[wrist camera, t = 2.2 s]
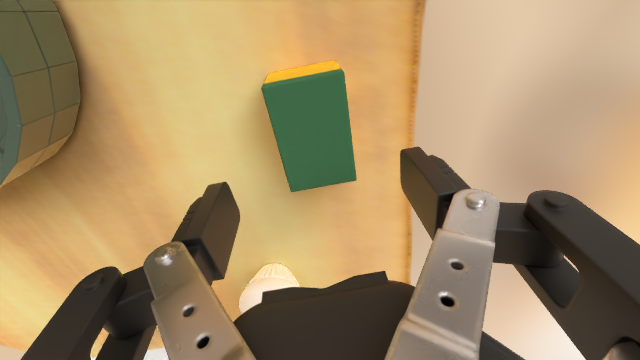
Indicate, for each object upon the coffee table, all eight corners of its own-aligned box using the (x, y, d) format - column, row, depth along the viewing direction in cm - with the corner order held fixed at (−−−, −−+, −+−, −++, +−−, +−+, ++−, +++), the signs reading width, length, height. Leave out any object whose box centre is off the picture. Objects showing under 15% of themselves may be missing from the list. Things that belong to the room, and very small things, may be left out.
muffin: (277, 243, 26) (271, 312, 20) (315, 274, 29) (320, 342, 23) (232, 271, 28) (214, 342, 22) (272, 297, 31) (266, 366, 25)
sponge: (268, 72, 18) (261, 88, 14) (335, 59, 17) (344, 71, 14) (292, 163, 21) (290, 192, 18) (347, 153, 21) (356, 180, 18)
